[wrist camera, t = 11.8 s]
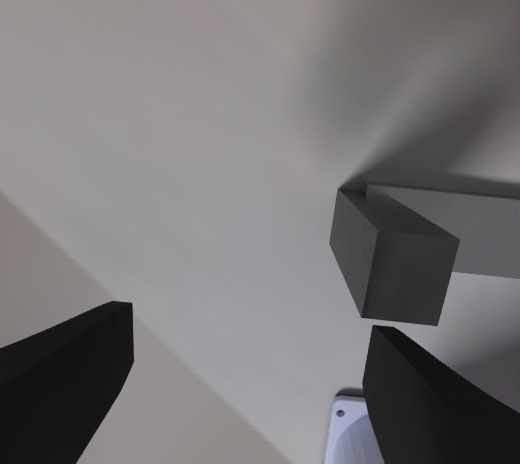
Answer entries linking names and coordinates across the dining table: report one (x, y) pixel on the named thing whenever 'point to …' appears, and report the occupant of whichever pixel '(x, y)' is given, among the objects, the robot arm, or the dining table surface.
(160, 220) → the dining table surface
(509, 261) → the grey l-shaped block
